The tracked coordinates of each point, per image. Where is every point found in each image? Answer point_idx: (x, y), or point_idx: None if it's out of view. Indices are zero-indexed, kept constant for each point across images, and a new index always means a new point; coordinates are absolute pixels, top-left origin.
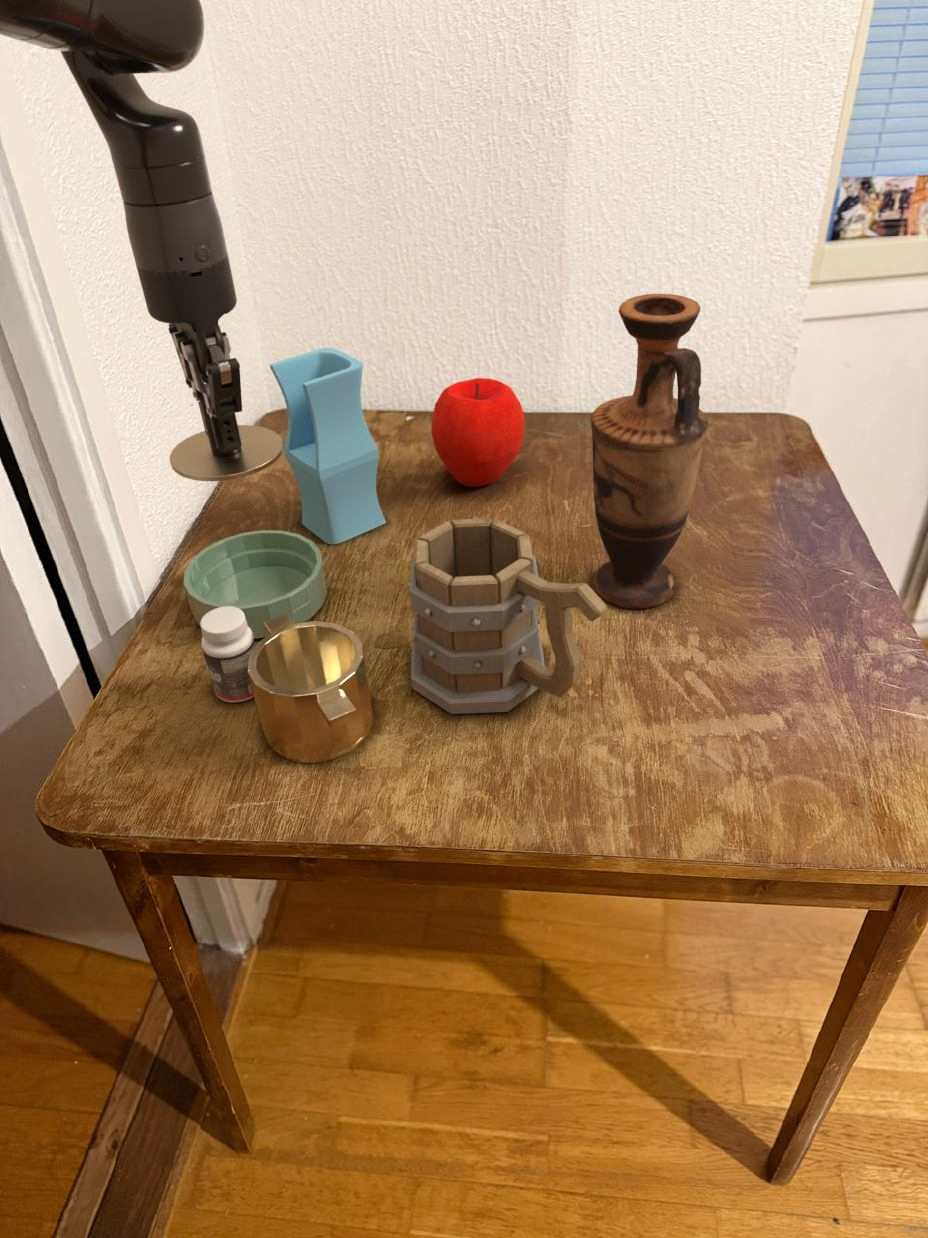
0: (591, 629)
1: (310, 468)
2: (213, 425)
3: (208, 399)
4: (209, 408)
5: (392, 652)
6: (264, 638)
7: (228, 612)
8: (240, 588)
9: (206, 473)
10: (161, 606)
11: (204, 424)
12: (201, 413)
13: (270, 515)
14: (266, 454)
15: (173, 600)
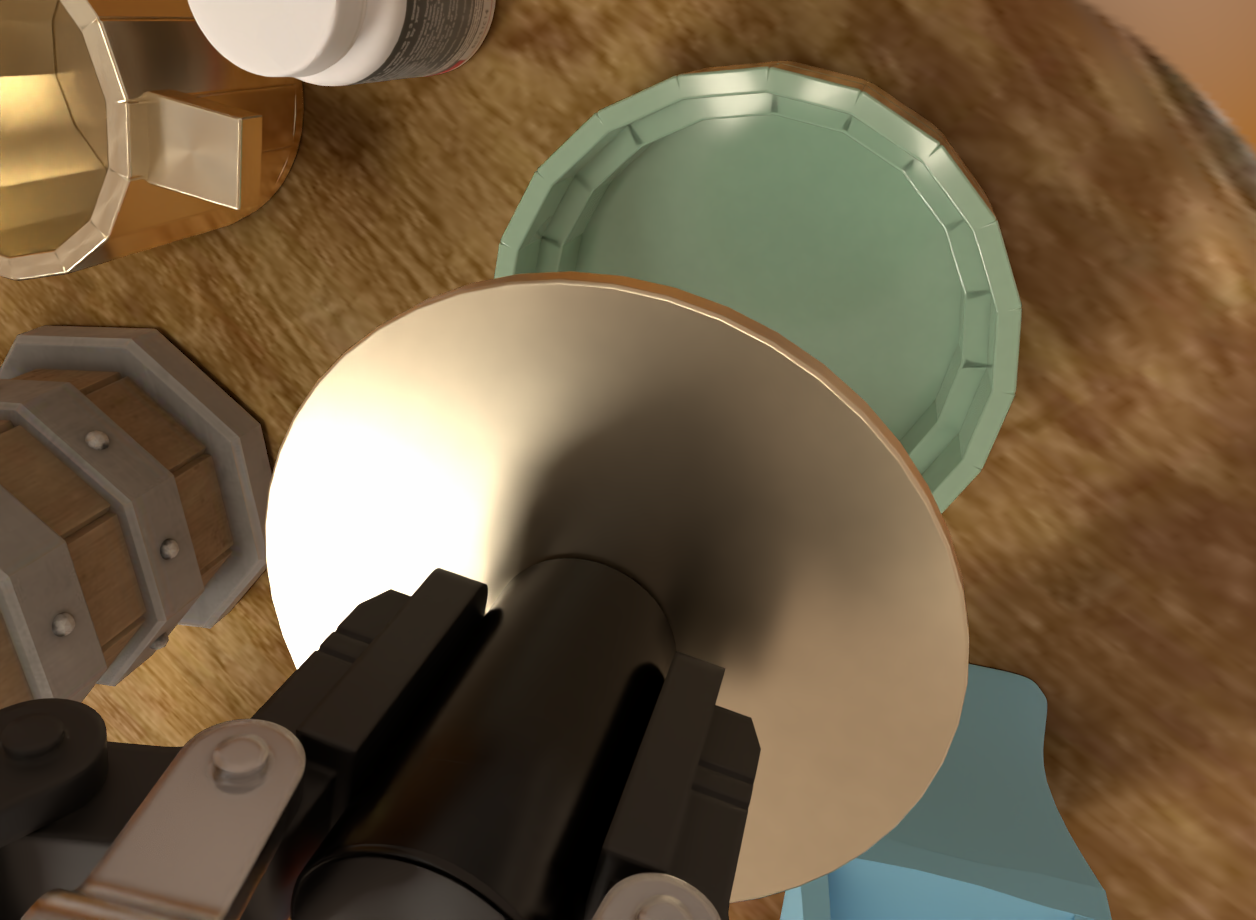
0: (134, 696)
1: (872, 852)
2: (337, 683)
3: (111, 849)
4: (179, 776)
5: (302, 395)
6: (107, 47)
7: (280, 26)
8: (859, 300)
9: (383, 377)
10: (1050, 23)
11: (678, 717)
12: (665, 784)
13: (1190, 661)
14: None
15: (1042, 83)
